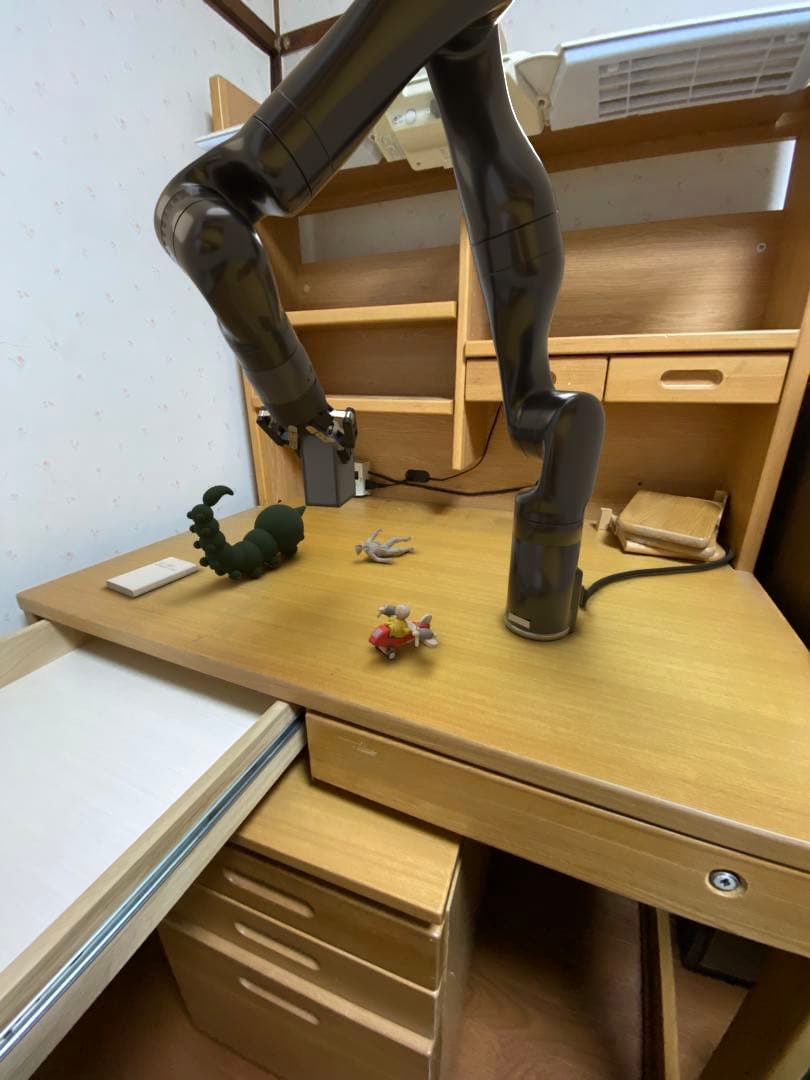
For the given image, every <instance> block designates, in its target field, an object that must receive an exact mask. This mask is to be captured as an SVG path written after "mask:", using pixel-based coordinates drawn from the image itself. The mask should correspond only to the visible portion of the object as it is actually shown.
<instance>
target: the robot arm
mask: <svg viewBox="0 0 810 1080" xmlns="http://www.w3.org/2000/svg"><path fill="white" fill-rule="evenodd" d="M514 2H515V0H353V1H352V2H351V3H350V5H349V6H348V7H347V9H346V10H345V11H344V12H343V13H342V14H341V16H340V17H339V18H338V19H337V20H336V21H335V22H334V23H333V25H332V26H330V28H329V29H328V30H327V31H326V32H325V34H324V35H323V36H322V37H321V38H320V39H319V40H318V42H317V43H315V45H314V46H312V48H310V50H309V51H308V52H307V54H305V55H304V57H303V58H302V59H301V60H300V61H299V62H298V63H297V64H296V66H295V67H293V68H292V70H290V72H289V73H288V74H287V75H286V76H285V77H284V78H283V79H282V81H280V83H279V84H278V85H277V86H276V87H275V88H274V89H273V90H272V92H271V93H270V94H269V95H268V96H267V97H266V98H265V99H264V100H263V102H262V103H261V104H260V105H259V106H258V107H257V108H256V109H255V110H254V112H253V113H252V114H251V115H250V117H248V118H247V120H246V121H245V122H244V123H243V125H242V126H241V128H240V129H239V130H238V131H237V132H236V133H234V134H233V135H231V136H230V137H228V138H227V139H225V140H223V141H221V142H220V143H218V144H216V145H215V146H213V147H212V148H210V149H208V150H207V151H206V152H204V153H203V154H201V155H199V156H198V157H197V158H195V159H194V160H193V161H191V162H190V163H189V164H188V165H187V164H186V166H185V167H183V168H182V169H181V170H180V171H178V172H177V173H176V174H175V175H174V176H172V177H171V179H170V180H169V181H168V183H167V184H166V185H165V187H164V188H163V189H162V191H161V192H160V194H159V196H158V198H157V201H156V203H155V207H154V211H153V229H154V232H155V236H156V239H157V241H158V243H159V245H160V247H161V248H162V250H163V251H164V252H165V254H166V255H167V256H168V257H169V258H170V259H171V260H172V262H174V264H176V266H178V267H179V269H180V270H181V271H182V272H183V273H184V274H185V275H186V276H187V277H188V279H190V281H191V282H192V283H193V285H194V286H195V287H196V289H197V291H199V293H200V295H202V297H203V299H204V300H205V301H206V303H207V304H208V306H209V308H210V309H211V311H212V312H213V314H214V316H215V317H216V325H217V326H218V329H219V332H220V334H221V336H222V338H223V339H224V341H225V342H226V344H227V346H228V347H229V349H230V350H231V352H232V353H233V355H234V357H235V358H236V359H237V361H238V362H239V364H240V366H241V368H242V370H243V373H244V375H245V378H246V379H247V381H248V383H249V384H250V386H251V387H252V389H253V390H254V393H256V395H257V397H258V399H259V400H260V401H261V403H262V405H261V406H260V408H259V412H258V414H257V417H256V421H255V423H256V425H258V426H259V428H260V429H261V430H262V431H263V432H264V433H265V434H266V435H267V436H268V437H269V438H270V439H271V440H272V441H273V443H275V445H277V446H278V447H284V446H285V445H287V446H288V447H289V448H290V449H292V450H293V451H294V453H295V455H297V457H298V458H299V459H300V460H301V452H300V441H299V435H300V436H310V435H311V436H317V437H318V438H320V439H321V440H322V441H323V442H324V443H325V444H329V443H330V444H331V445H332V446H333V447H334V448H336V452H337V454H338V456H339V458H340V460H341V461H342V463H343V464H348V461H350V459H351V455H352V450H351V449H353V448H354V449H355V448H356V443H357V438H358V435H359V429H358V423H357V416H356V410H355V409H354V408H353V407H351V406H347V407H345V411H341V410H336V409H335V408H334V407H333V406H332V405H330V404H329V402H328V401H327V397H326V393H325V390H324V388H323V385H322V383H321V382H320V379H319V377H318V375H317V373H316V371H315V368H314V365H313V363H312V362H311V359H310V357H309V355H308V352H307V351H306V349H305V346H304V345H303V344H302V343H301V341H300V339H299V337H298V336H297V334H296V331H295V330H294V326H293V325H292V323H291V320H290V319H289V317H288V315H287V312H286V309H285V308H284V307H283V305H282V303H281V297H280V293H279V292H280V291H279V288H278V284H277V281H276V276H275V273H274V269H273V265H272V262H271V259H270V257H269V254H268V252H267V250H266V247H265V245H264V243H263V241H262V239H261V238H260V235H259V234H258V232H257V231H256V229H255V226H256V225H257V224H258V223H260V222H261V221H263V220H264V219H265V218H268V217H279V218H284V219H290V218H293V217H295V216H296V215H298V214H299V213H300V212H302V211H303V210H304V209H305V208H306V207H307V206H308V205H309V204H310V203H311V202H312V201H313V200H314V198H315V197H316V196H317V195H318V194H319V193H320V192H321V191H322V189H324V188H325V186H327V184H329V182H330V181H332V179H333V178H334V177H335V176H336V175H337V174H338V173H339V172H340V170H342V168H343V167H344V166H345V164H346V163H347V162H348V161H349V160H350V159H351V157H353V155H354V154H355V153H356V151H357V150H359V148H360V146H362V144H363V143H364V141H365V140H366V139H367V138H368V137H369V135H370V133H371V132H372V131H373V129H374V128H375V127H376V126H377V125H378V123H379V122H380V120H381V119H382V118H383V116H384V115H385V114H386V113H387V111H388V110H389V109H390V107H391V106H392V105H393V103H395V101H396V99H398V97H399V96H400V95H401V94H402V92H403V91H404V90H405V88H406V87H407V86H408V85H409V84H410V83H411V82H412V80H413V79H414V78H415V77H416V76H417V75H418V74H419V72H420V71H421V70H422V69H423V68H424V71H425V74H426V77H427V80H428V83H429V86H430V89H431V92H432V95H433V98H434V101H435V105H436V109H437V111H438V114H439V117H440V120H441V124H442V128H443V131H444V135H445V139H446V142H447V147H448V151H449V156H450V161H451V165H452V170H453V175H454V179H455V183H456V187H457V191H458V197H459V199H460V204H461V208H462V212H463V217H464V222H465V227H466V231H467V237H468V241H469V246H470V250H471V255H472V259H473V263H474V268H475V272H476V275H477V280H478V284H479V287H480V291H481V295H482V298H483V302H484V306H485V310H486V315H487V319H488V320H487V321H488V325H489V330H490V334H491V339H492V343H493V348H494V353H495V356H496V361H497V368H498V374H499V381H500V387H501V395H502V403H503V404H502V405H503V411H504V419H505V425H506V426H505V427H506V430H507V436H508V437H509V441H510V444H511V447H513V449H514V450H515V451H516V453H517V454H519V456H521V457H522V458H525V459H527V460H531V461H534V462H537V463H541V469H540V476H539V479H538V482H537V484H536V485H532V486H527V487H523V488H521V489H519V490H518V491H517V492H516V495H515V496H514V503H513V516H512V517H513V518H512V531H511V543H510V546H511V547H510V555H509V567H508V581H507V593H506V603H505V604H506V606H505V612H504V623H505V626H506V627H507V628H508V629H509V630H510V631H511V632H513V633H515V634H516V635H518V636H521V637H523V638H527V639H530V640H536V641H555V640H559V639H561V638H564V637H566V636H567V635H568V634H569V633H572V632H576V627H577V620H578V614H579V608H580V607H579V606H581V607H585V605H586V604H587V602H588V600H589V599H590V598H591V596H592V595H593V593H594V592H595V590H597V589H598V588H599V587H601V586H602V585H604V584H607V583H609V582H612V581H616V580H618V579H623V578H629V577H633V576H641V575H650V574H651V575H652V574H653V575H654V574H663V573H673V572H686V571H688V572H689V571H698V570H705V569H710V568H715V567H718V566H721V565H725V564H726V563H728V562H729V561H731V560H732V559H733V558H734V557H735V555H736V553H735V554H734V555H733V552H732V550H731V549H730V548H729V552H728V554H727V555H726V556H725V557H722V558H720V559H717V560H714V561H713V560H712V561H709V562H704V563H699V564H688V565H677V566H666V567H654V568H641V569H632V570H627V571H622V572H618V573H613V574H610V575H606V576H604V577H601V578H600V579H598V580H596V581H595V582H592V584H591V585H590V586H589V587H588V588H585V587H586V586H584V585H583V578H584V572H583V570H582V569H581V568H580V567H578V566H579V560H580V552H581V545H582V538H583V531H584V523H585V515H586V510H587V508H588V507H587V506H588V504H589V502H590V500H591V498H592V497H593V494H594V491H595V488H596V482H597V479H598V478H597V477H598V473H599V468H600V462H601V458H602V453H603V448H604V442H605V436H606V429H607V428H606V427H607V425H606V412H605V409H604V405H603V403H602V402H601V400H600V399H599V397H597V396H596V395H594V394H592V393H590V392H587V391H580V390H566V389H565V390H560V389H556V387H555V384H554V380H553V377H552V371H551V364H550V360H549V349H548V348H549V346H548V345H549V334H550V330H551V325H552V321H553V318H554V314H555V311H556V307H557V304H558V301H559V297H560V293H561V290H562V286H563V282H564V281H563V280H564V275H565V266H566V257H565V248H564V241H563V233H562V227H561V221H560V214H559V213H560V212H559V211H558V210H559V208H558V201H557V196H556V193H555V188H554V186H553V183H552V181H551V179H550V177H549V174H548V172H547V170H546V168H545V166H544V164H543V163H542V160H541V159H540V157H539V155H538V154H537V152H536V151H535V149H534V147H533V145H532V144H531V142H530V141H529V138H528V137H527V135H526V134H525V132H524V130H523V128H522V126H521V124H520V122H519V121H518V118H517V116H516V114H515V111H514V109H513V105H512V102H511V98H510V94H509V89H508V85H507V79H506V73H505V67H504V61H503V54H502V46H501V39H500V27H499V26H500V25H499V23H500V20H501V19H502V18H503V16H504V15H505V14H506V12H507V11H508V10H509V9H510V7H511V6H512V5H513V3H514ZM343 430H344V431H343ZM326 431H327V433H326ZM336 436H338V439H336Z"/></svg>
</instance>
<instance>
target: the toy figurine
mask: <svg viewBox="0 0 810 1080" xmlns="http://www.w3.org/2000/svg"><path fill="white" fill-rule="evenodd" d="M226 495H228V496H232V497H233V496H234V495H235V493H234V490H233V489H232V488H230V487H229V486H226V485H224V484H219V485H213V486H211V487H209V488H208V489H207V490H206V491H205V492H204V493H203V495H202V497H201V499H202V503H198V504H196V505H195V506H193V507H192V508H191V510H189V511H187V512H186V518H187V519H188V520H192V522H193V524H191V525H189V528H188V530H189V532H190V533H192V534H196V536H197V537H198V539H197V540H195V541H194V542H193V544H192V545H193V548H194V549H196V550H200V549H201V550H202V551H203V552H204V556H202V557H200V559H199V560H198V563H199V565H200V567H203V568H207V567H209V569H210V570H212V571H214V574H216V576H219V577H223V576H225V575H226V574H228V579H230V581H234V582H235V581H239V580H240V579H241V577H242V575H249V574H250V576H251V577H253V578H259V577H260V576H261V575H262V573H263V572H262V568H261V566H262V565H263V564H266V565H267V566H269V568H276V567H278V566H279V565H280V564H281V557H280V556H279V554H280V555H282V556H283V557H287V558H289V557H293V556H295V555H296V554H297V553H298V551H299V547H298V545H299V543H301V542H302V541H304V540H305V537H306V536H305V524H304V520H303V516H304V513H305V512H306V509H307V506H306V505H301V506H297V507H294V508H293V507H292V506H290V505H287V504H283V503H276V504H271V505H269V506H267V507H265V508H264V509H262V510H261V511H260V512H259V513H258V514H257V516H256V518H255V520H254V523H253V529H251V530H249V531H248V532H247V533H246V534H245V535H244V536H243V538H242V540H240V541H238V542H235V543H234V544H233V545H232V544H231V543H229V542H228V541H227V539H226V536H225V534H224V532H222V531H221V529H220V528H221V527H220V523H219V520H217V518H215V517H214V516H215V514H214V513H215V512H214V510H213V508H212V507H214V506H216V505H217V504H218V503H219V501H221V499H222V498H223V497H224V496H226ZM278 553H279V554H278Z"/></svg>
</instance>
